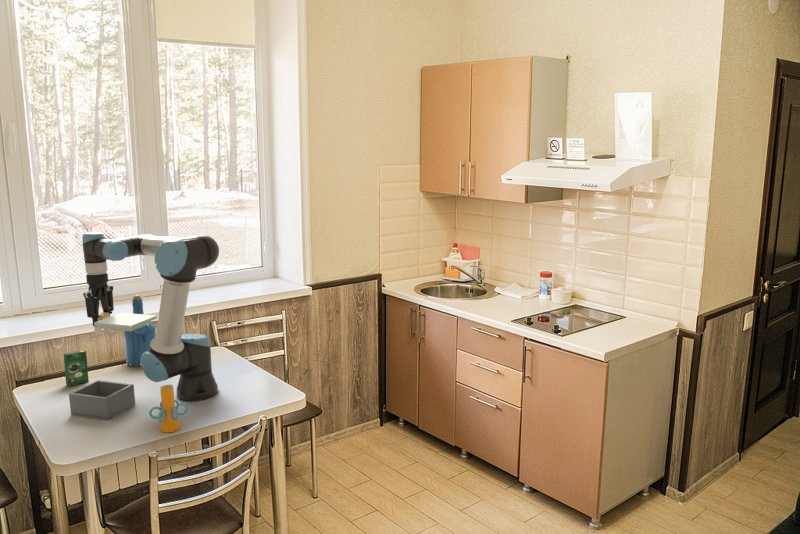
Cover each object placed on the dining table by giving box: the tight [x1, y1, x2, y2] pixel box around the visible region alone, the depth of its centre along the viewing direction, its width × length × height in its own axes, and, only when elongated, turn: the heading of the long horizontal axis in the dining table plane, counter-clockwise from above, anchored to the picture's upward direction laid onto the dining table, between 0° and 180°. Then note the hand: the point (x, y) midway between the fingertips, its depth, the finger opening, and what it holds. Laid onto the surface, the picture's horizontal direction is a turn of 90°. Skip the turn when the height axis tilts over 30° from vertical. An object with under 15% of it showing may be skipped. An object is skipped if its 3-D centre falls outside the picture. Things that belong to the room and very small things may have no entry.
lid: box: [93, 311, 158, 332], centre depth 254 cm, size 22×15×4 cm
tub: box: [68, 379, 136, 421], centre depth 239 cm, size 16×14×8 cm
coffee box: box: [63, 349, 90, 387], centre depth 265 cm, size 8×3×13 cm, turn 133°
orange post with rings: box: [149, 384, 189, 434], centre depth 222 cm, size 12×10×15 cm
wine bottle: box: [123, 294, 157, 366], centre depth 288 cm, size 14×13×30 cm
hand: (102, 332), depth 257 cm, fingers closed on lid, 4 cm apart
